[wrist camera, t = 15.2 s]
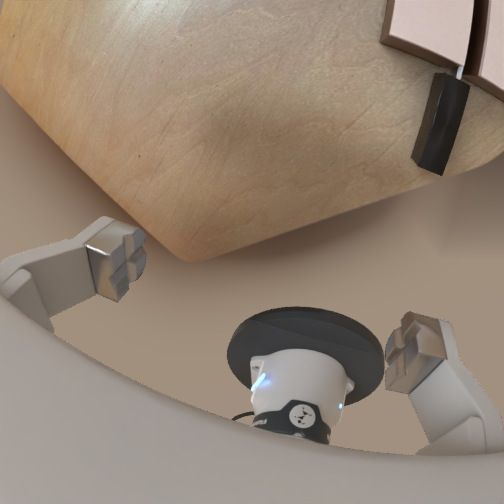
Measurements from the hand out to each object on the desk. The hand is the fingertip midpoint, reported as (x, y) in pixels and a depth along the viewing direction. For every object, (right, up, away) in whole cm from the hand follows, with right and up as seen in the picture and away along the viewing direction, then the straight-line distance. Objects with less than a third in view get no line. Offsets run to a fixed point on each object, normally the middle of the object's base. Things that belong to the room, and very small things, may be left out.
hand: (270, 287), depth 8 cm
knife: (+17, +18, +9) cm, 27 cm away
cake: (+18, +23, +6) cm, 30 cm away
